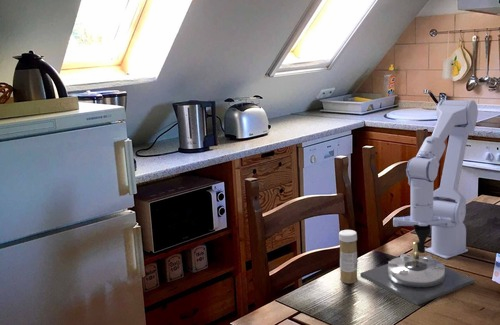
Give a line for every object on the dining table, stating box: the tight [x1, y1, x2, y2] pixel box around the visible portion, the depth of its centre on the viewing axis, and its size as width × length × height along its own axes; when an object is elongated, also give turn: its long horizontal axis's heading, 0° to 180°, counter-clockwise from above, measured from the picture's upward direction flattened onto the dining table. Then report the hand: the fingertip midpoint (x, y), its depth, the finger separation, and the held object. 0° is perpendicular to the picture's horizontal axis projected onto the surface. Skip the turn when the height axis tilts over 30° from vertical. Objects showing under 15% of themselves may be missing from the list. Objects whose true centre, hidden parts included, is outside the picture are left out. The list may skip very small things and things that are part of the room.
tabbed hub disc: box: [387, 240, 446, 287], centre depth 140 cm, size 14×14×7 cm
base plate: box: [359, 263, 475, 306], centre depth 141 cm, size 20×20×1 cm
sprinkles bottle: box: [338, 229, 358, 284], centre depth 141 cm, size 5×5×14 cm
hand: (421, 251), depth 145 cm, fingers closed, pressing on tabbed hub disc
